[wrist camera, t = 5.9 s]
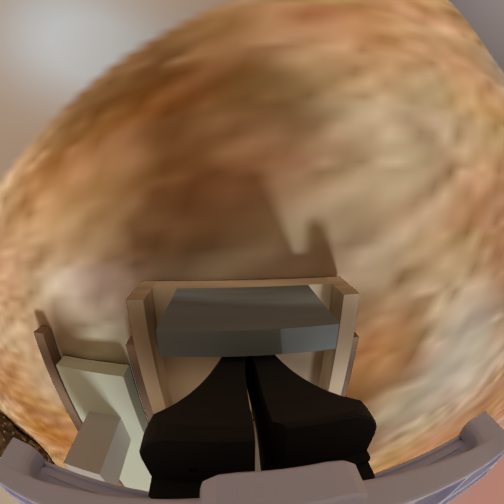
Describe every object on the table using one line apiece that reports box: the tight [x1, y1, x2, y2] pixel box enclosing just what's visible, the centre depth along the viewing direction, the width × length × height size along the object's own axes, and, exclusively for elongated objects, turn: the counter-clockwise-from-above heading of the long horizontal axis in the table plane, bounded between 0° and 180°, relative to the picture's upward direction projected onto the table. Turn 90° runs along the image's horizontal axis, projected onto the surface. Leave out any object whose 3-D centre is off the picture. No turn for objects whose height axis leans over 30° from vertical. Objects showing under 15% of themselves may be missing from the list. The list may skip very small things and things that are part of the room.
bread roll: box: [0, 413, 55, 465], centre depth 14 cm, size 13×12×5 cm
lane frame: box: [34, 326, 359, 487], centre depth 15 cm, size 20×20×1 cm
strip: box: [56, 356, 152, 492], centre depth 12 cm, size 16×5×6 cm, turn 0°
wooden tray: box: [126, 277, 360, 414], centre depth 13 cm, size 18×10×5 cm, turn 0°
